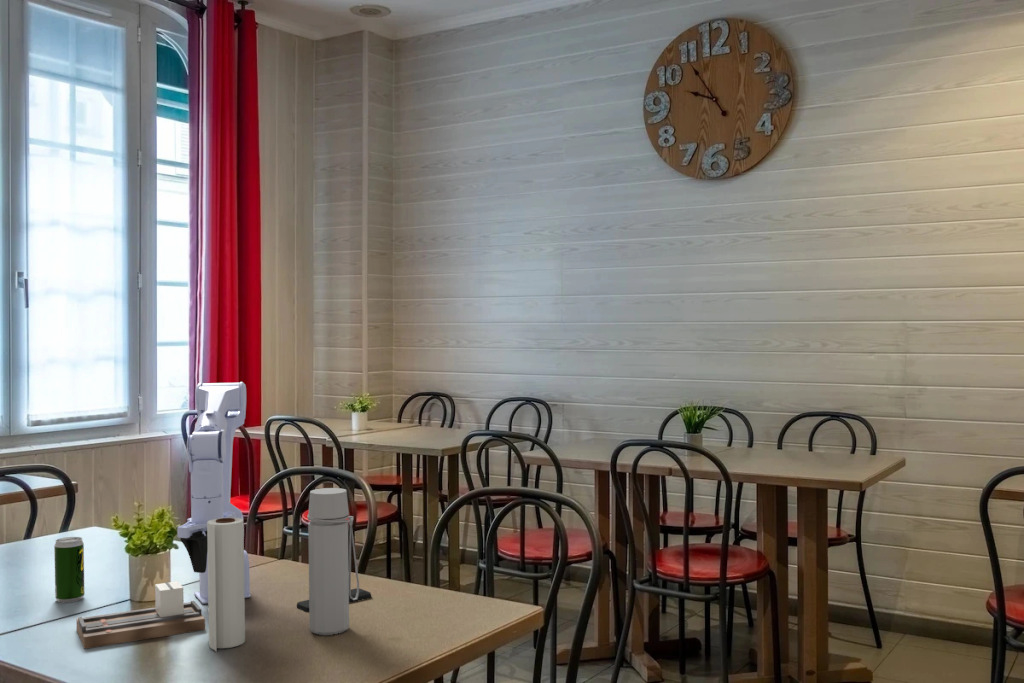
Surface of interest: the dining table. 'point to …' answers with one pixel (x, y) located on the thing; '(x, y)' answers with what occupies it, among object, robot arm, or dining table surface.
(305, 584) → the dining table surface
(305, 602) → the remote control
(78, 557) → the beer can
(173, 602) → the fader knob
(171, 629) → the console
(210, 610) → the paper towel roll
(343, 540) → the water bottle
